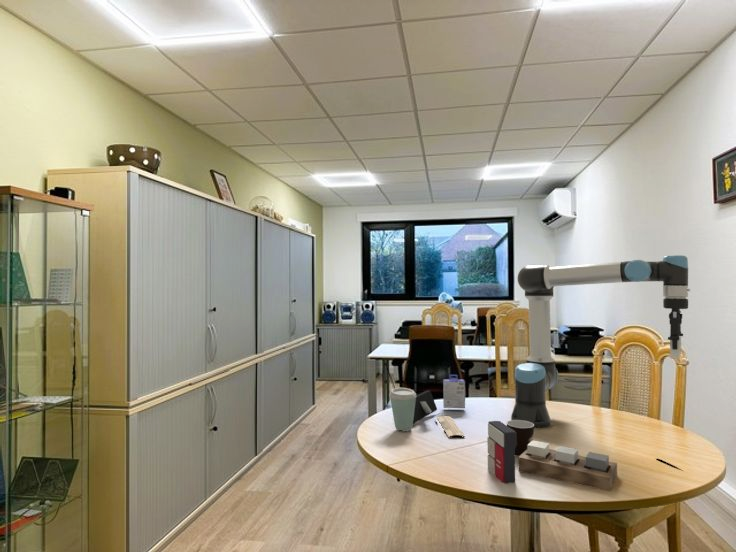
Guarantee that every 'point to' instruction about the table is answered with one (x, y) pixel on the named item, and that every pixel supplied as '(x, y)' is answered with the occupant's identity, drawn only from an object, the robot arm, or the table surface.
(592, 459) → the key charcoal
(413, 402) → the disposable coffee cup
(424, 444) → the table surface
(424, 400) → the picture frame
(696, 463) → the table surface
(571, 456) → the key grey
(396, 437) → the table surface
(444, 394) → the ink cartridge box
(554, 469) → the brown wooden block holder
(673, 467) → the pen
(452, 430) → the tan curved ridged slab
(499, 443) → the grey and red box
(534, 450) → the key white
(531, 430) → the coffee mug
